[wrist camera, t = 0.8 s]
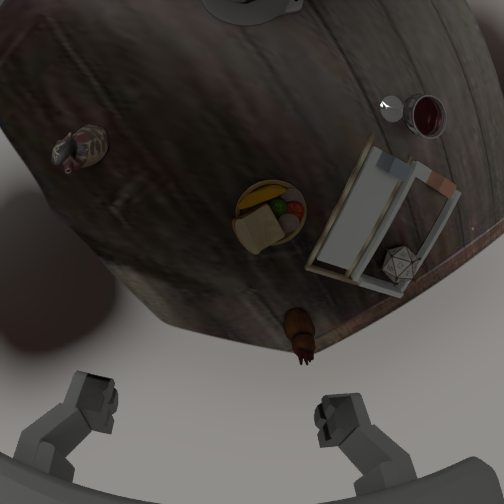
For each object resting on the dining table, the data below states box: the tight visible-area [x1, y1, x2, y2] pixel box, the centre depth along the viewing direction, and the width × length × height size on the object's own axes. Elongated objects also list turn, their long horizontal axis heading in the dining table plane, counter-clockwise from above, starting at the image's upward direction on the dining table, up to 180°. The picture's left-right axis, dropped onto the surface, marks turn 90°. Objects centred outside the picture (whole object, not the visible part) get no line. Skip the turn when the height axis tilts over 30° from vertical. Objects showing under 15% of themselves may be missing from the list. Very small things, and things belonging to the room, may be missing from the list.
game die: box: [378, 241, 422, 286], centre depth 56 cm, size 9×8×10 cm
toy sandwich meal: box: [231, 180, 307, 255], centre depth 51 cm, size 12×14×5 cm
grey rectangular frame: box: [350, 160, 461, 298], centre depth 54 cm, size 27×14×5 cm, turn 159°
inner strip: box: [316, 145, 413, 270], centre depth 51 cm, size 24×8×6 cm, turn 159°
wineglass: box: [380, 94, 447, 139], centre depth 39 cm, size 7×7×12 cm
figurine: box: [52, 125, 109, 173], centre depth 39 cm, size 7×7×12 cm
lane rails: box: [304, 133, 461, 286], centre depth 55 cm, size 29×26×1 cm
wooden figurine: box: [283, 308, 316, 365], centre depth 59 cm, size 7×6×15 cm
